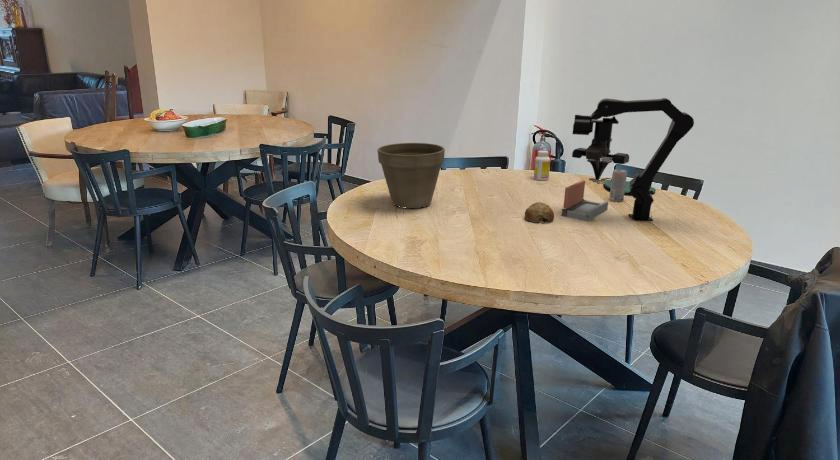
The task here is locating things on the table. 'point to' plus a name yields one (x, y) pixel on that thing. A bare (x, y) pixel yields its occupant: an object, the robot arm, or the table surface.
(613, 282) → the table surface
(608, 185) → the cutlery set
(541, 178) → the supplement bottle
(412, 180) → the plant pot
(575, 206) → the sill
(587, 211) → the tray
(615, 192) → the energy drink
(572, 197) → the panel
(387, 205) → the table surface
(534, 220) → the bread roll
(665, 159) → the robot arm
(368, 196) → the table surface
